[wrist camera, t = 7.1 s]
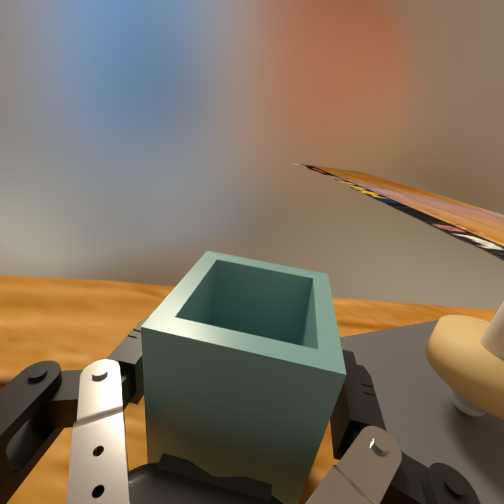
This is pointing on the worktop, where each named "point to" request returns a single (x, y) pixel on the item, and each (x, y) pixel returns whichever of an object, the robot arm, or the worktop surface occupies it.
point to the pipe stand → (443, 393)
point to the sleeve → (243, 371)
